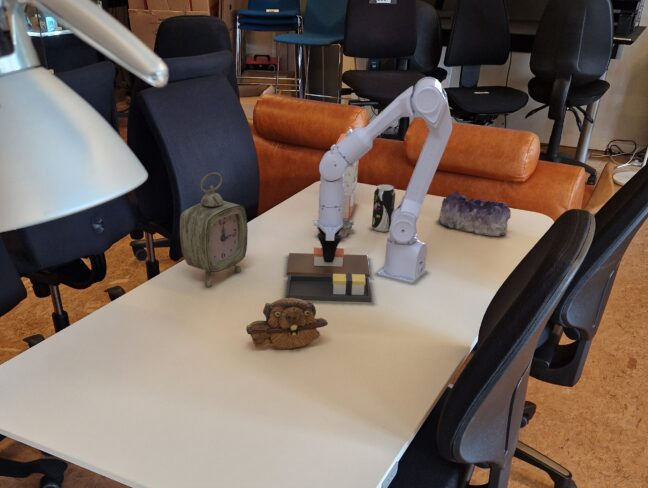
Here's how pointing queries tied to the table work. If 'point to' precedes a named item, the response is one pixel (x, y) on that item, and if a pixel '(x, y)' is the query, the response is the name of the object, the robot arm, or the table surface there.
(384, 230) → the beverage can
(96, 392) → the table surface
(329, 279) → the sushi tray
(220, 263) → the tabletop clock
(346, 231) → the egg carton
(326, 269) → the serving board
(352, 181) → the cracker box
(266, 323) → the wooden carving
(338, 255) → the salmon nigiri
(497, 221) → the geode
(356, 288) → the tamago nigiri
